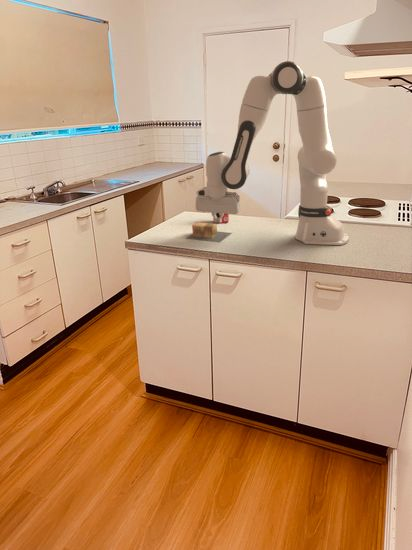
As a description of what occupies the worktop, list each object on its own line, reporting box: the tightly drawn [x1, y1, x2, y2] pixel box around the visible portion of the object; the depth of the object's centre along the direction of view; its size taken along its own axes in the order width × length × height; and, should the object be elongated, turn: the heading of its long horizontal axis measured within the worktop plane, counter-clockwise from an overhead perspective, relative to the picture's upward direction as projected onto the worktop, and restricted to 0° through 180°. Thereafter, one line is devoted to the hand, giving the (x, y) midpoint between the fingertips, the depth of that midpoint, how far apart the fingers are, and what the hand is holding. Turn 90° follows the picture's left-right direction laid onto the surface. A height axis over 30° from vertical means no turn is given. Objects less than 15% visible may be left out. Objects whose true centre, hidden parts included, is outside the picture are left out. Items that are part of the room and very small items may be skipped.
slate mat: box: [185, 230, 233, 243], centre depth 187 cm, size 17×14×1 cm
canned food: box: [213, 213, 230, 225], centre depth 205 cm, size 8×8×11 cm
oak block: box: [191, 221, 218, 238], centre depth 187 cm, size 5×5×10 cm
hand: (218, 222), depth 182 cm, fingers closed
